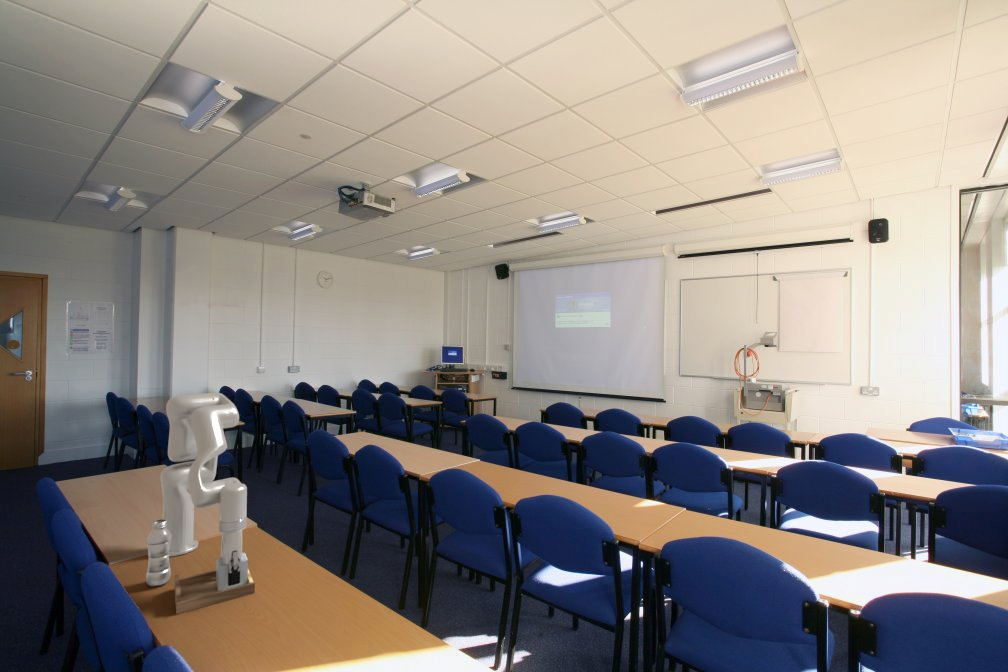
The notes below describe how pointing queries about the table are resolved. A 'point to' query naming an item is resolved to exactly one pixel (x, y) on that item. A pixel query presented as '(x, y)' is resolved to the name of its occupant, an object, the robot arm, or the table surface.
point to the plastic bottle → (158, 554)
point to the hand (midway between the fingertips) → (231, 577)
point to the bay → (206, 591)
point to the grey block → (224, 570)
